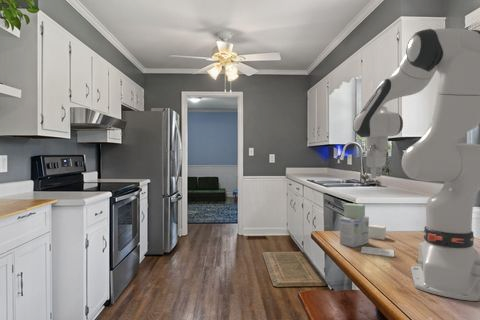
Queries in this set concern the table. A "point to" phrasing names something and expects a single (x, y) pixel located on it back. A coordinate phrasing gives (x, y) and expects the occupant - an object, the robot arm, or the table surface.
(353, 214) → the brick
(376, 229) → the brick
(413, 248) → the table surface
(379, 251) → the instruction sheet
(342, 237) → the light bulb box
